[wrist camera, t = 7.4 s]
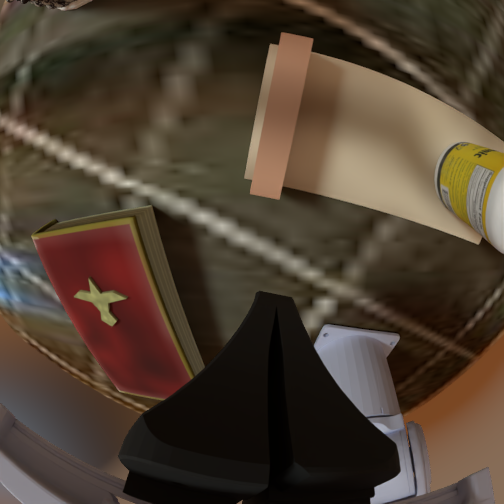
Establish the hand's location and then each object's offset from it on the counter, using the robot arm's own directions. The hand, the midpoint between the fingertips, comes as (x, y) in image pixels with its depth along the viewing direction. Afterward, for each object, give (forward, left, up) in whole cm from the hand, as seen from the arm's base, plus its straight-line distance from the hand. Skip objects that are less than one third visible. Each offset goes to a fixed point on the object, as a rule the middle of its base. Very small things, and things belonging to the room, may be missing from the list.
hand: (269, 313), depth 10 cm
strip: (+7, -7, -9) cm, 14 cm away
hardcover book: (-12, +11, -10) cm, 19 cm away
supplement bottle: (+7, -12, -9) cm, 17 cm away
